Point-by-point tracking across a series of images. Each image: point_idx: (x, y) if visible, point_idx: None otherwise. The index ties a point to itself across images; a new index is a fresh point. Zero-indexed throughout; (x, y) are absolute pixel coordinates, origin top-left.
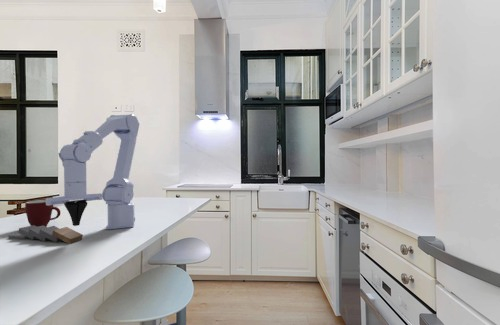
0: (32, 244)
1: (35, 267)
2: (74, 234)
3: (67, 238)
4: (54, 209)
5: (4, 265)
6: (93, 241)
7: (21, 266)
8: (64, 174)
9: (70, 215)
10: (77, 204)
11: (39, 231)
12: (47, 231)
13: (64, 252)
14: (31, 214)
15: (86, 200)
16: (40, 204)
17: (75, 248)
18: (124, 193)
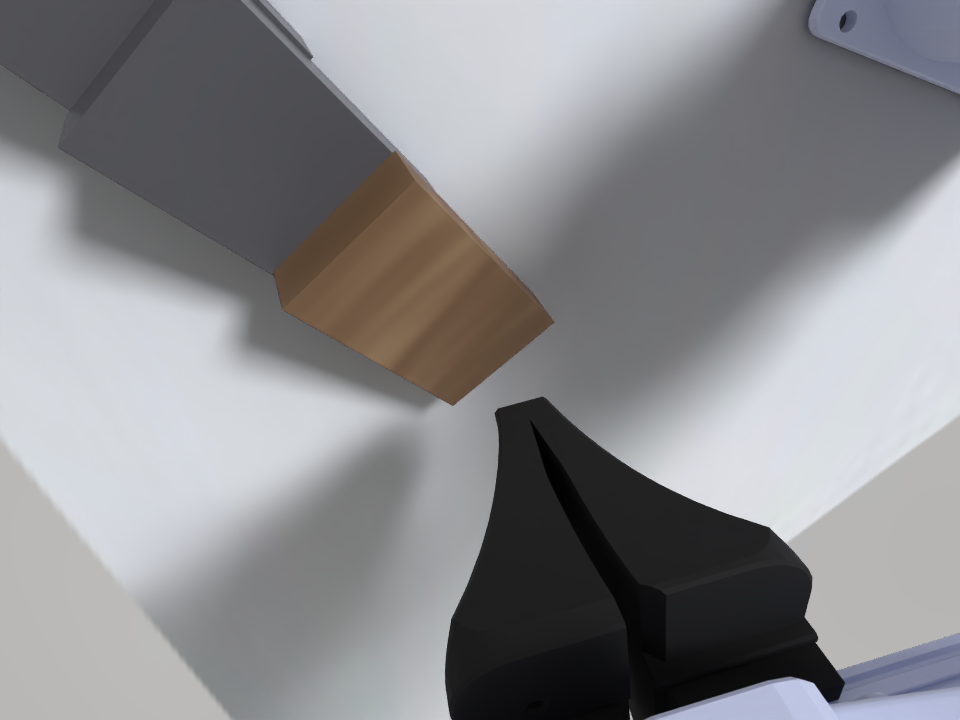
0: (89, 202)
1: (314, 659)
2: (487, 332)
3: (429, 389)
4: None
5: (135, 602)
6: (594, 399)
7: (241, 635)
8: None
9: (500, 494)
10: (644, 718)
11: (22, 17)
12: (190, 193)
13: (417, 533)
14: None
15: (833, 702)
16: None
17: (475, 492)
18: None
